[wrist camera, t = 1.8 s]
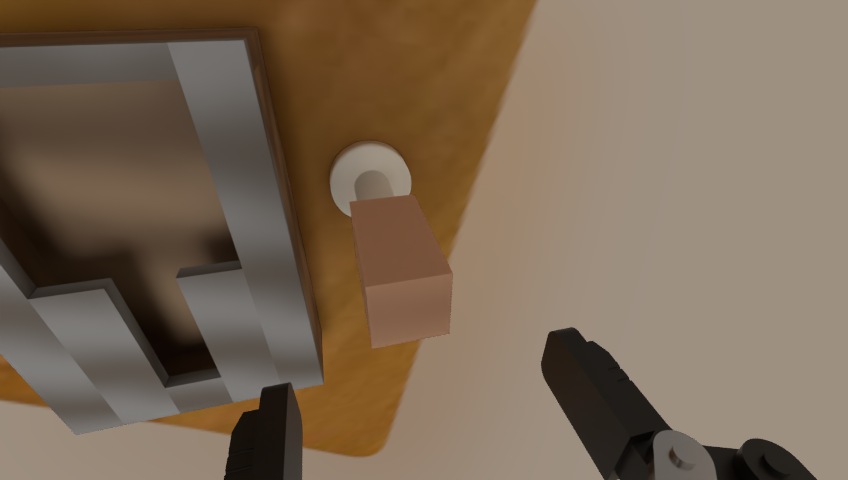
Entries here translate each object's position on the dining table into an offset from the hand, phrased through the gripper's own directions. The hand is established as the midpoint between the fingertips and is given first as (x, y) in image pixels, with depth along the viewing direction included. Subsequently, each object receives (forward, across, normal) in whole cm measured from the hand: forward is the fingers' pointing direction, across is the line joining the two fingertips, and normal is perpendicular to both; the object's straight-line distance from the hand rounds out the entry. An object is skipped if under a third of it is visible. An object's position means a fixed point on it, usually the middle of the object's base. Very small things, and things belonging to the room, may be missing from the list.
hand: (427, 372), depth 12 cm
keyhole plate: (+14, +12, +2) cm, 18 cm away
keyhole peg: (+14, 0, 0) cm, 14 cm away
